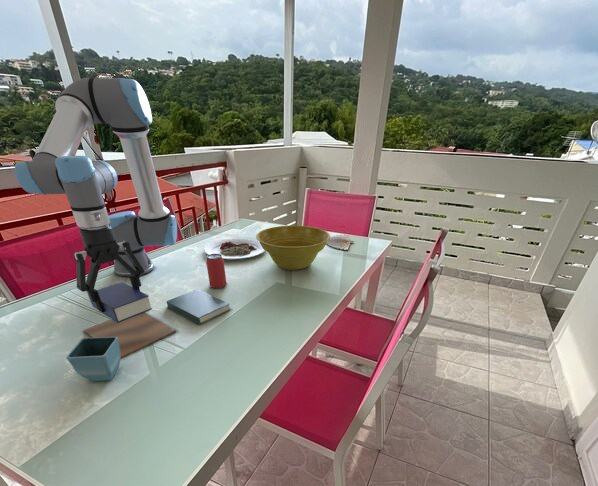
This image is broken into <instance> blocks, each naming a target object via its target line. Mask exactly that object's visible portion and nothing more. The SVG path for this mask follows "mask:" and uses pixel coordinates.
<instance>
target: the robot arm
mask: <svg viewBox="0 0 598 486" xmlns="http://www.w3.org/2000/svg"><path fill="white" fill-rule="evenodd" d="M150 106H151V105H150V103H149V100H148V97H147V95H146V93H145V91H144V89H143V87H142V86H141V85H140V83H139V82H138V81H137V80H135V79H131V78H124V77H84V78H80V79H76V80H75V81H73V82H72V83H70V84H69V85H68V86H66V87H65V88H64V89H63V90H62V91H61V92H60V94H59V95H58V97H57V99H56V101H55V104H54V108H55V114H54V115H53V117H52V120H51V122H50V124H49V125H48V127H47V130H46V131H45V133H44V135H43V138H42V140H41V142H40V144H39V146H38V148H37V150H36V151H35V154H34V156H33V158H32V160H30V161H29V160H23V161H19V162H16V163H15V165H14V169H13V170H14V176H15V179H16V181H17V183H18V184H19V185H20V187H21V188H22V190H24V191H25V192H26V193H29V194H33V195H44V196H46V195H65V196H66V198H67V201H68V203H69V207H70V209H71V212H72V215H73V219H74V220H75V224H76V226H77V227H78V228H79V229H78V232H79V234H80V237H81V240H82V243H83V245H84V250H81V251H79V252H78V251H74V252H73V253H72V256H73V258H74V260H75V266H76V267H75V271H76V273H75V274H76V275H75V276H76V289H77V290H79V291H80V292H82V293H83V292H86V293H88V294H87V296H88V295H89V296H88V299H89V298H90V299H89V301H90V300H91V301H92V302H95V303H96V306H97V308H98V310H99V311H98V310H97V311H98V312H100V311H101V312H102V313H101V312H100V313H101V314H103V312H105V310H104V307H103V305H102V302H101V299H100V296H99V294H98V291H97V290H98V289H96V288H95V287H96V282H97V278H98V275H99V271H100V268H101V266H102V265H103V264H107V263H109V262H113V263H114V265H113V268H114V272H115V274H116V275H117V276H120V277H127V278H129V281H130V283H131V287H133V288H135V289H137V290H139V291H141V289H140V287H142V281H141V276H142V275H146V274H149V273H150V272H151V271H153V270H154V264H153V262H152V260H151V258H150V257H149V255H148V254H147V252H146V250H145V247H167V246H174V245H175V244H176V242H177V238H178V222H177V218H176V216H175V215H174V214H171V212H170V209H168V208H167V206H165V205H164V202H163V198H162V194H161V190H160V185H159V182H158V178H157V173H156V169H155V165H154V162H153V157H152V153H151V150H150V145H149V141H148V138H147V135H148V133H149V131H150V126H149V125H151V124H152V123H153V116H152V115H153V114H152V109H151V107H150ZM96 124H97V125H99V124H103V125H105V124H106V125H110V127H111V128H110V129H111V131H112V133H113V134H115V135H116V136H118V138H119V141H120V144H121V148H122V151H123V154H124V157H125V161H126V164H127V167H128V171H129V174H130V178H131V181H132V184H133V189H134V191H135V194H136V197H137V198H136V199H137V202H138V204H139V207H140V209H139V211H138V213H137V215H136V213H135V212H134V211H133V210H127V211H126V210H125V211H120V212H115V213H112V214H110V215H109V213H108V210H107V207H106V204H105V200H104V197H103V195H105V194H108V193H110V192H112V191H113V190H114V189H115V188H116V186H117V185H118V174H117V172H116V170H115V169H114V167H113V166H112V165H111V164H109V163H108V162H106V161H104V160H99V159H96V160H95V159H92V160H91V158H90V157H89V156H87V155H76V154H77V152H78V149H79V146H80V144H81V142H82V140H83V137H84V135H85V132H86V131H88V130H90V129H91V128H92V126H93V125H96ZM87 256H88V257H89V258H90V261H89V269H88V273H87V275H86V260H87ZM91 301H90V302H91Z"/></svg>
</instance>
